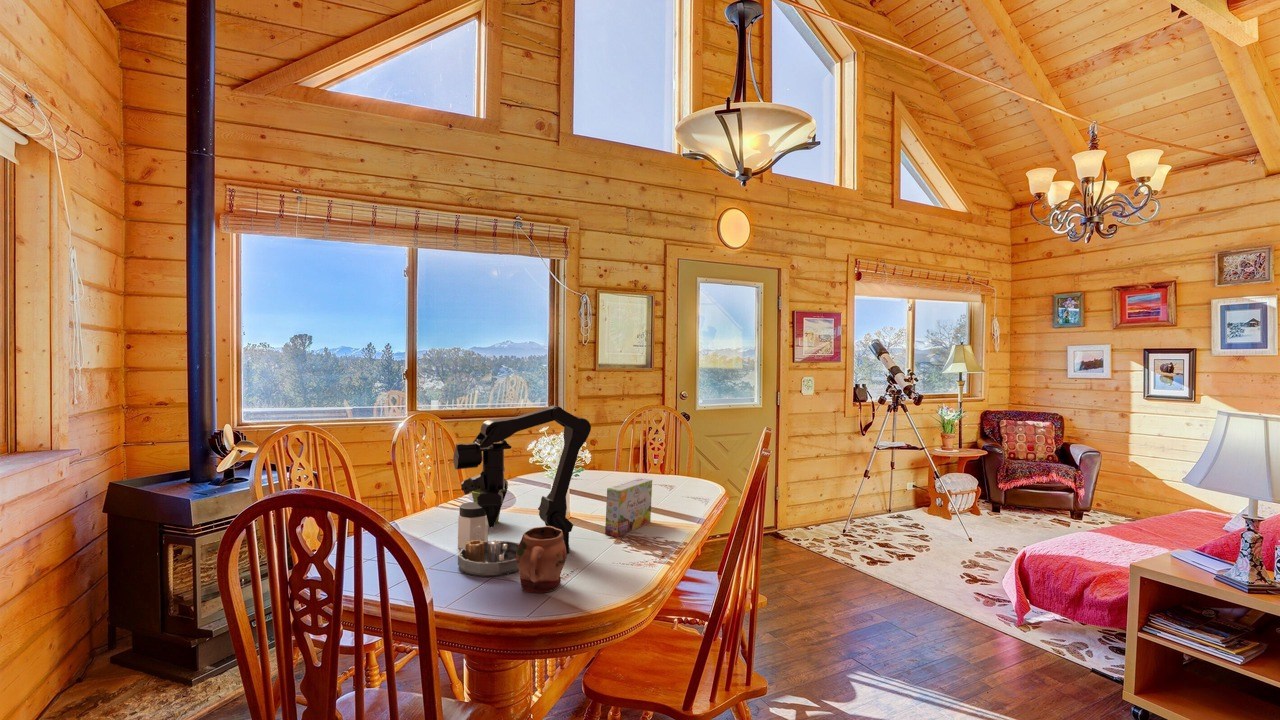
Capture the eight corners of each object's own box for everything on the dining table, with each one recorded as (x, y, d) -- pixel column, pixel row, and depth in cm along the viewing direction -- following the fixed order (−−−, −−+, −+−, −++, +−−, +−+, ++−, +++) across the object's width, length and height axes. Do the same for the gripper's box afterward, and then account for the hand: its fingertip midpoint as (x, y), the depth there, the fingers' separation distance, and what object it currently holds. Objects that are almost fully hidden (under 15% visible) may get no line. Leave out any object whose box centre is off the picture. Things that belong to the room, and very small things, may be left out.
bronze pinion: (485, 557, 163) (485, 539, 163) (482, 564, 158) (483, 545, 158) (466, 558, 162) (467, 539, 162) (463, 564, 157) (464, 545, 157)
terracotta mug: (562, 606, 135) (563, 546, 135) (508, 606, 135) (509, 545, 134) (568, 574, 155) (570, 521, 155) (521, 573, 154) (523, 520, 154)
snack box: (619, 538, 186) (620, 490, 186) (604, 535, 189) (605, 487, 189) (651, 522, 205) (652, 478, 205) (637, 519, 207) (638, 476, 207)
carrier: (529, 552, 170) (530, 532, 170) (524, 576, 153) (525, 553, 152) (465, 553, 168) (465, 532, 168) (452, 577, 150) (453, 554, 150)
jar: (462, 552, 170) (462, 510, 169) (453, 544, 176) (454, 504, 176) (492, 547, 174) (493, 506, 174) (483, 539, 181) (484, 500, 181)
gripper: (468, 460, 172) (468, 513, 172) (457, 473, 153) (457, 533, 154) (507, 459, 173) (508, 512, 173) (501, 472, 155) (501, 532, 155)
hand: (493, 522), depth 164 cm, fingers open, 9 cm apart
